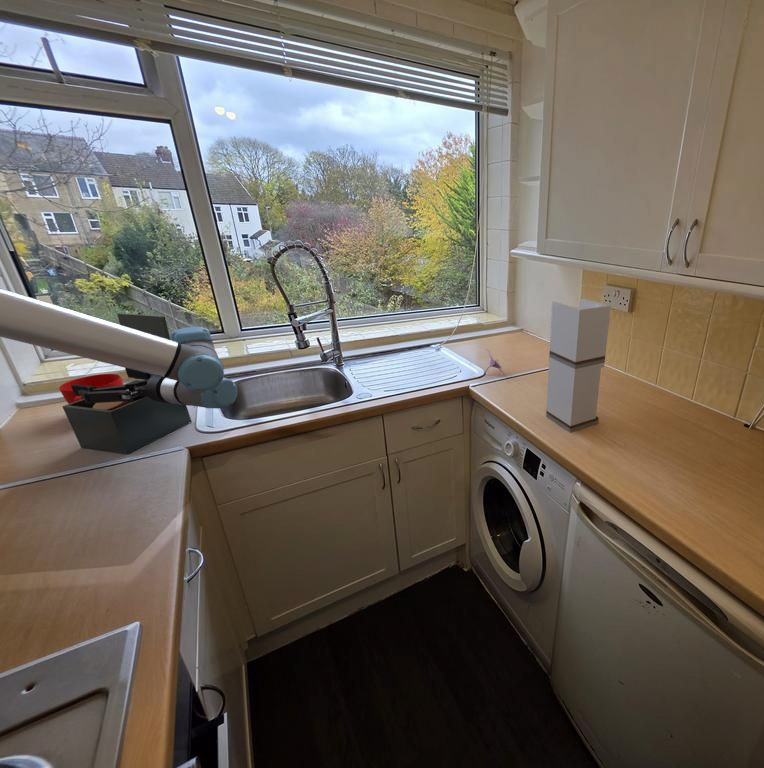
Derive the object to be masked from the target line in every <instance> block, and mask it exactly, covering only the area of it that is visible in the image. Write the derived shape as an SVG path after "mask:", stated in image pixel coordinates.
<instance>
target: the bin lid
mask: <svg viewBox="0 0 764 768" xmlns="http://www.w3.org/2000/svg"><path fill="white" fill-rule="evenodd" d="M116 315H117V319H118V323H119V325H122V326H126V327H129V328H132V329H135V330H139V331H142V332H145V333H148V334H152V335H155V336H158V337H162V338H165V339H168V340H170V332H169V328H168V323H167V319H166V316H165V315H154V314H153V315H151V314H140V313H139V314H138V313H124V312H118V313H117V314H116ZM150 377H151V376H150ZM133 379H134V380H139V379H138V378H133ZM141 380H147V379H141Z"/></svg>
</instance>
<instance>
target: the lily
mask: <svg viewBox="0 0 764 768" xmlns="http://www.w3.org/2000/svg"><path fill="white" fill-rule="evenodd" d="M485 350H486V351H487V352H488V355H489V365H488V367H487V368H486V370H485V372H484V373H483V375H484V376H485V375H486V373H487V371H488V370H489V368H490V367H492V368H496V369H497V370H499V371H500V372H501V373H502V374H503V375H505V373H504V372H503V370H502V369H503V368H502V366H501V364H500V363H499V359H496V360H494V358H493V357H492V354H491V353H490V351H489V349H487V348H485Z"/></svg>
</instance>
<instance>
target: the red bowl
mask: <svg viewBox="0 0 764 768" xmlns="http://www.w3.org/2000/svg"><path fill="white" fill-rule="evenodd" d="M74 384H76V385H85V386H94V387H96V388H104V387H113V386H121V385H124V381H123V378H122V376H121V375H120V374H117V373H101V374H94V375H88V376H82V377H78V378H75V379H72V380H69V381H67V382H64V383H63V384H61V385H59V387H58V388H59V389H58V390H59V391H60V394H61V395H62V397H63V398H64V400H65V402H66V403H67V404H70V403H73V402H76V401H79V400H81V399H84V397H81V396H75V394H74V392H73V390H72V387H71V385H74Z"/></svg>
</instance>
